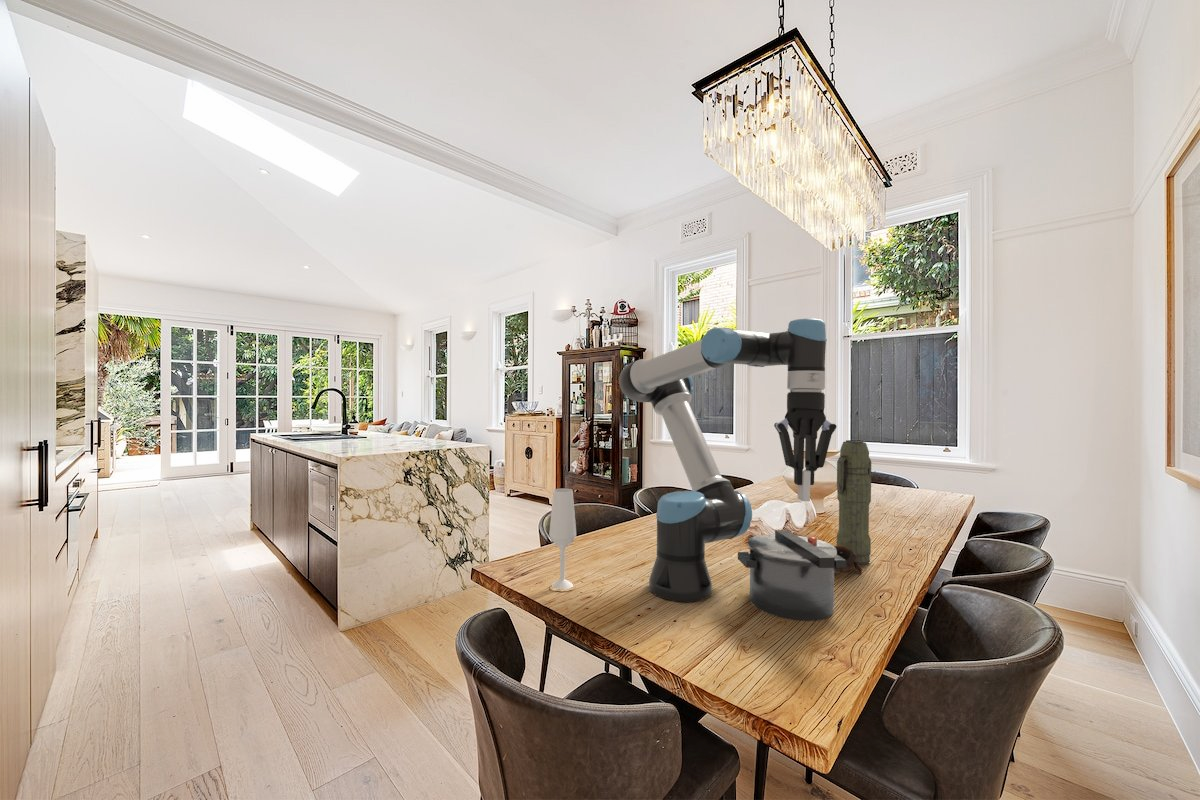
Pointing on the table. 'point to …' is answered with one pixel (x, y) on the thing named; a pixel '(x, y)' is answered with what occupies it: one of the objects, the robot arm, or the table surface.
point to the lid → (794, 548)
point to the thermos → (854, 498)
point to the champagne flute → (562, 529)
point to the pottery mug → (848, 559)
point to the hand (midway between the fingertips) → (803, 499)
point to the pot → (791, 587)
